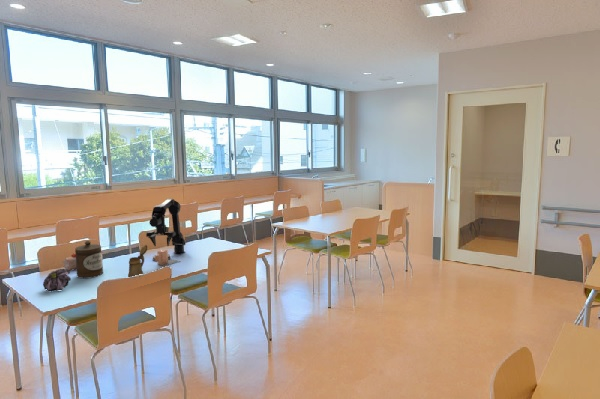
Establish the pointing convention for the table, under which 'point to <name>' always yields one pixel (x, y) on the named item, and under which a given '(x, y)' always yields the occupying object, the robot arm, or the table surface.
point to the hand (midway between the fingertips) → (161, 246)
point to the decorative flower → (57, 280)
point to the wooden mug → (137, 263)
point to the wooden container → (89, 260)
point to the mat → (171, 262)
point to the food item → (70, 262)
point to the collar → (155, 260)
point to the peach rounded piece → (162, 257)
